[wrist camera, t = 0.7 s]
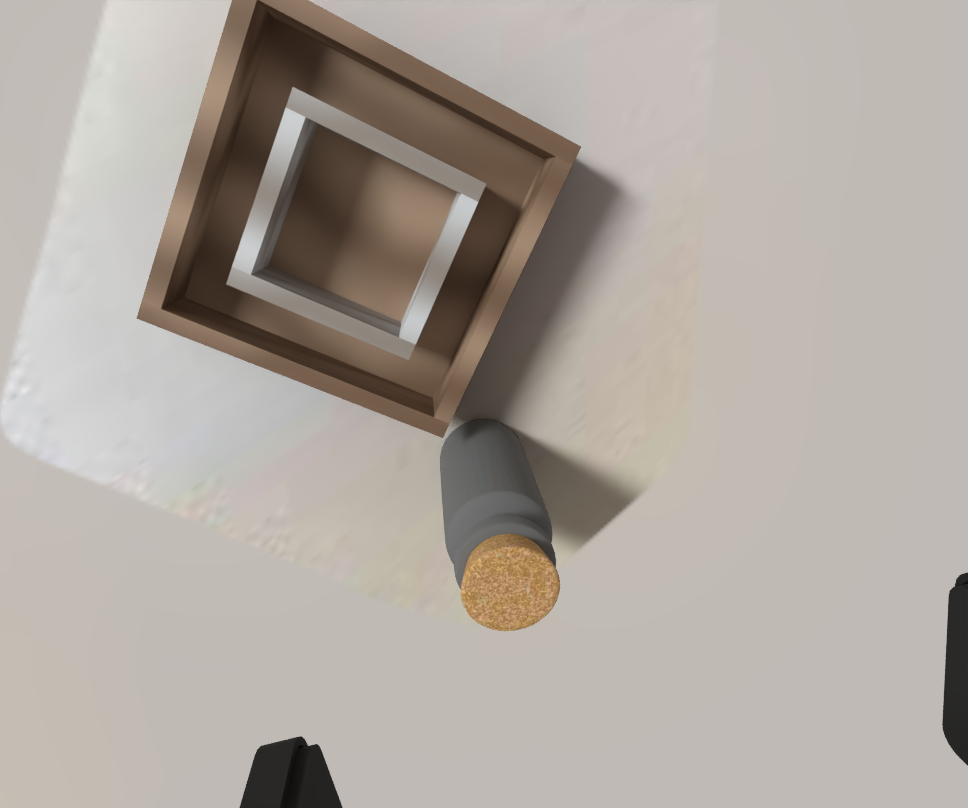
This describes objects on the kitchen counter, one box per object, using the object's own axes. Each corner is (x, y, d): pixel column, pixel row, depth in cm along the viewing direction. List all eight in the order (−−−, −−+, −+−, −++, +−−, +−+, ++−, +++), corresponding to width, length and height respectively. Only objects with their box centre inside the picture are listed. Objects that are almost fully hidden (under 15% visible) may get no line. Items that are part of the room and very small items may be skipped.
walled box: (265, -7, 33) (239, -39, 28) (562, 150, 37) (583, 146, 32) (168, 303, 37) (132, 320, 33) (440, 412, 41) (443, 441, 37)
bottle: (441, 417, 42) (452, 536, 28) (526, 419, 42) (579, 538, 28) (437, 494, 44) (445, 642, 30) (519, 495, 44) (565, 641, 30)
